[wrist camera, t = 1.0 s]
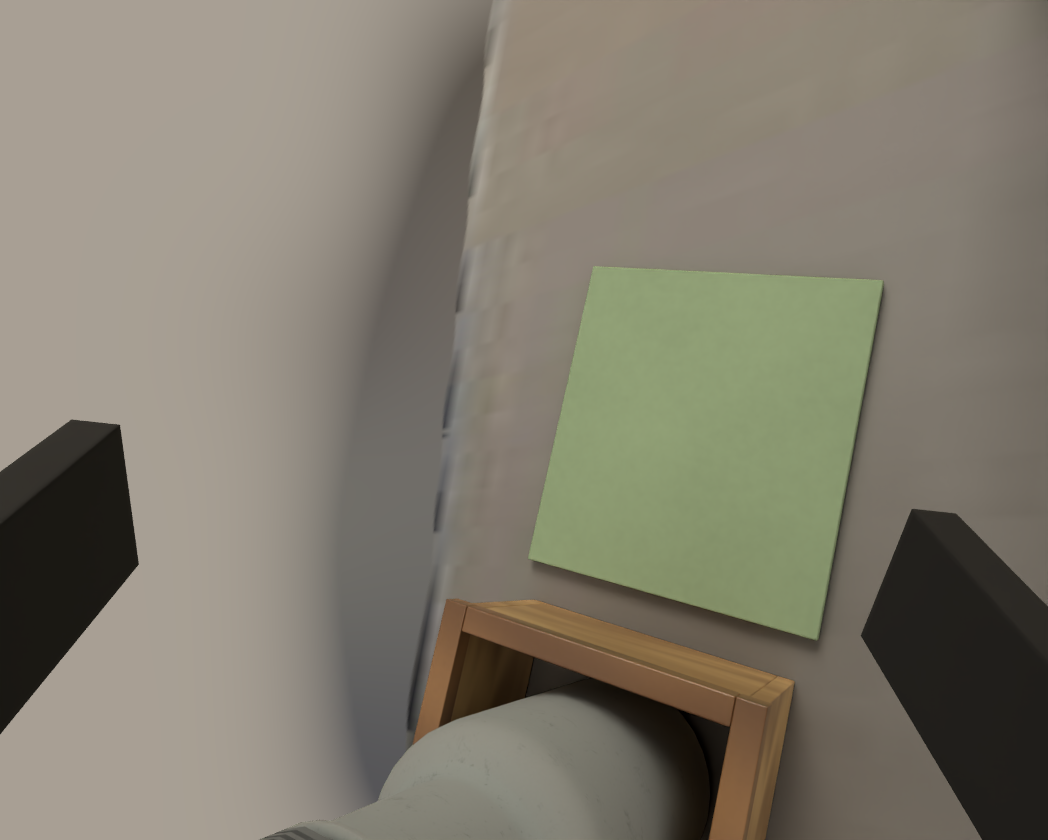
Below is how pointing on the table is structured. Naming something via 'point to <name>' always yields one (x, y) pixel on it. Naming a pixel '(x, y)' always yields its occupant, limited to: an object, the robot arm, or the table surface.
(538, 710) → the water bottle
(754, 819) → the wooden box
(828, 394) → the desk mat
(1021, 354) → the table surface
